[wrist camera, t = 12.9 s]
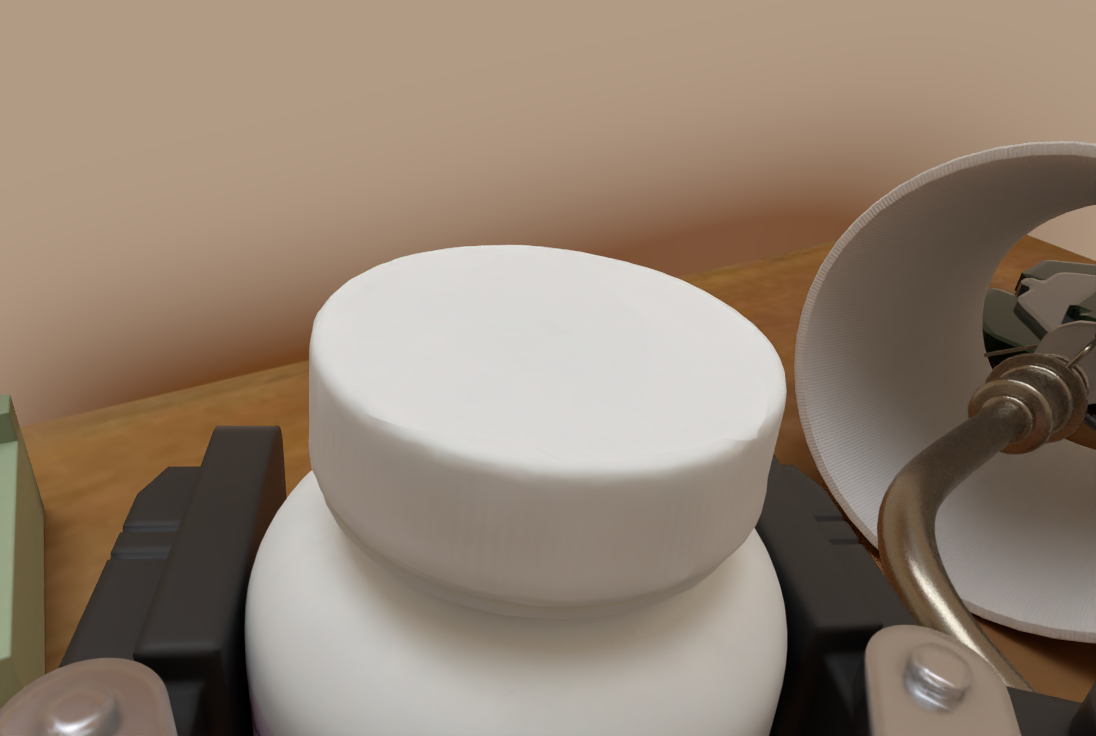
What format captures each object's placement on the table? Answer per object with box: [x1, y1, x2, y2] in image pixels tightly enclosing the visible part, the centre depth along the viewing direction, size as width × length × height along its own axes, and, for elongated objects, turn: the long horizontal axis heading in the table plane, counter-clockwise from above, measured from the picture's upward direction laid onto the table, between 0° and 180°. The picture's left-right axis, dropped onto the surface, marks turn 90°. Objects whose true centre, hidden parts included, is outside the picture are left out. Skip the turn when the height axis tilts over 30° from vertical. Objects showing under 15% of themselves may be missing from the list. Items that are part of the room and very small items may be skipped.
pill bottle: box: [245, 245, 787, 736], centre depth 9 cm, size 5×5×10 cm
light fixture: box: [794, 141, 1096, 694], centre depth 27 cm, size 17×19×34 cm
